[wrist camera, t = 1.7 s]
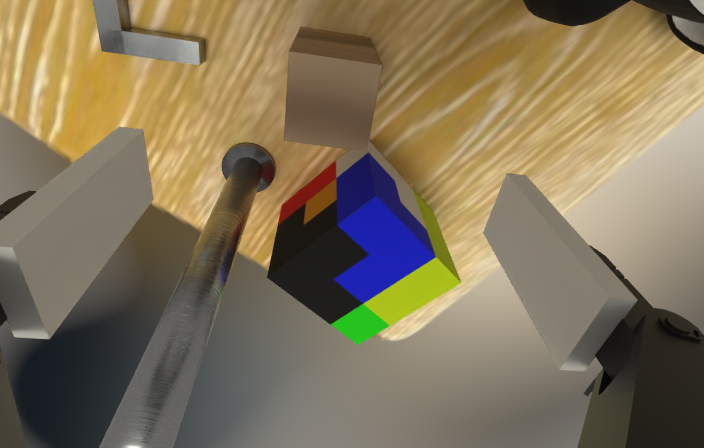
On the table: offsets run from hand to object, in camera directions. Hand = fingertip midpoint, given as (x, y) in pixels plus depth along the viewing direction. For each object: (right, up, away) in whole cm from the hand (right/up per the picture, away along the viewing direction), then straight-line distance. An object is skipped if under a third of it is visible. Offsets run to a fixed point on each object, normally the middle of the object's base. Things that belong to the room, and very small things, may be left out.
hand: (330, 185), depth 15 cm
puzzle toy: (+1, 0, +22) cm, 22 cm away
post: (-8, +3, +19) cm, 21 cm away
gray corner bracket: (-13, +13, +12) cm, 22 cm away
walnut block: (-1, +10, +15) cm, 18 cm away
